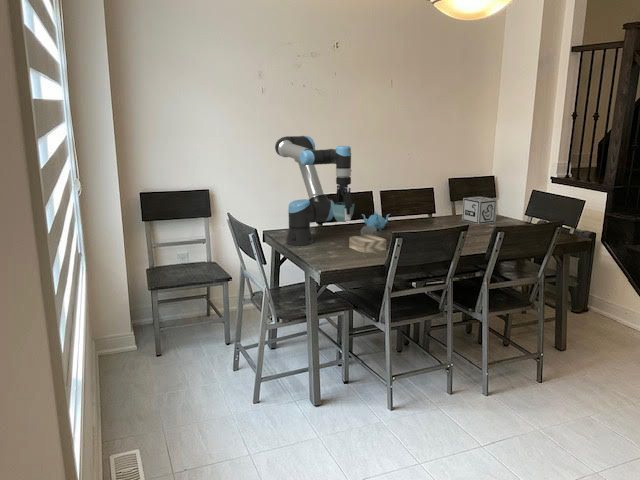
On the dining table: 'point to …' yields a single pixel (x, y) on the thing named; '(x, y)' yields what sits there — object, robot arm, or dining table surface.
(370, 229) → the toy rhinoceros
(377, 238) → the birch block
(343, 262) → the dining table surface
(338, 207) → the flower pot
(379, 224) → the teapot
